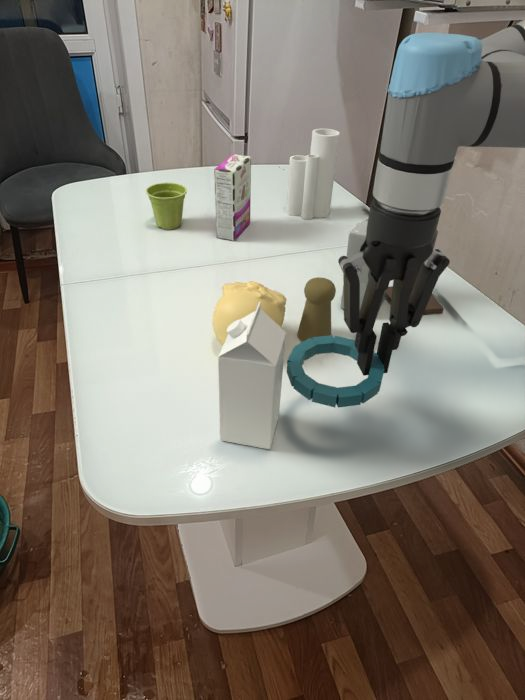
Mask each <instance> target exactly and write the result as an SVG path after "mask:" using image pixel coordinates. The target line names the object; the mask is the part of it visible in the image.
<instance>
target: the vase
mask: <svg viewBox="0 0 525 700" xmlns="http://www.w3.org/2000/svg"><path fill="white" fill-rule="evenodd" d="M311 132H312V133H311V143H310V153H309V154H307V155H302V154H301V155H300V154H299V155H298V154H296V155H291V156H290V157H289V163H288V179H287V193H286V194H287V195H286V209H285V213H286V214H287V215H289V216H293V217H300V218H301V219H302V220H304V221H307V220H312V219H313V218H316V219H321V218H327V217H329V216H330V214H331V205H332V198H333V189H334V183H335V182H334V181H335V172H336V164H337V157H338V149H339V140H340V131H338V130H336V129H332V128H324V127H322V128H321V127H320V128H315V129H313V130H312V131H311Z"/></svg>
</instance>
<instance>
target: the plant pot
mask: <svg viewBox="0 0 525 700" xmlns="http://www.w3.org/2000/svg"><path fill="white" fill-rule="evenodd" d="M187 192H188V189H187V187H186V186H184V185H183V184H180V183H175V182H159V183H155V184H151V185H149V186H148V187H147V188H146V189H145V193H146V195H147V196H148V199H149V201H150V204H151V208H152V213H153V216H154V220H155V225H156V227H157V228H161V229H163V230H167V231H168V230H176V229H177V228H179V227H182V224H183V211H184V202H185V198H186V195H187Z"/></svg>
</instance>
